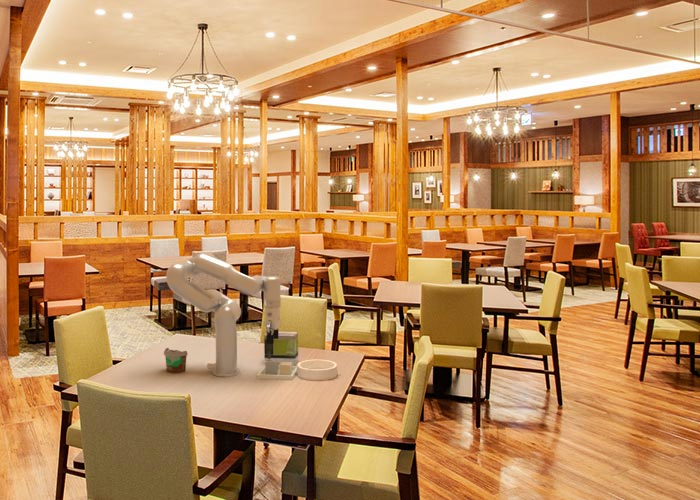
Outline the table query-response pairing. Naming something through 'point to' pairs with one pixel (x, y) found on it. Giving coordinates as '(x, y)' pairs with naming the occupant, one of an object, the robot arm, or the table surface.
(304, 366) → the bowl
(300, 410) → the table surface
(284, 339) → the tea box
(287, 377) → the tray
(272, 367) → the slate cube
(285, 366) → the sandstone cube
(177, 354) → the food container
